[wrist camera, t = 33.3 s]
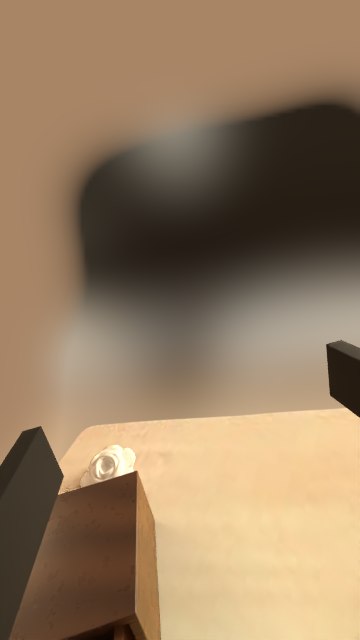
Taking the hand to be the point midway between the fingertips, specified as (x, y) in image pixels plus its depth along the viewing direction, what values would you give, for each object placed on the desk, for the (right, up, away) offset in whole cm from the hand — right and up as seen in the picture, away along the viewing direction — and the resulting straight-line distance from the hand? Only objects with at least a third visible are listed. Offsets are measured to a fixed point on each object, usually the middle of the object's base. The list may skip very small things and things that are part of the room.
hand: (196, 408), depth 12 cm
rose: (-13, -25, +36) cm, 46 cm away
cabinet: (-10, -29, +19) cm, 36 cm away
